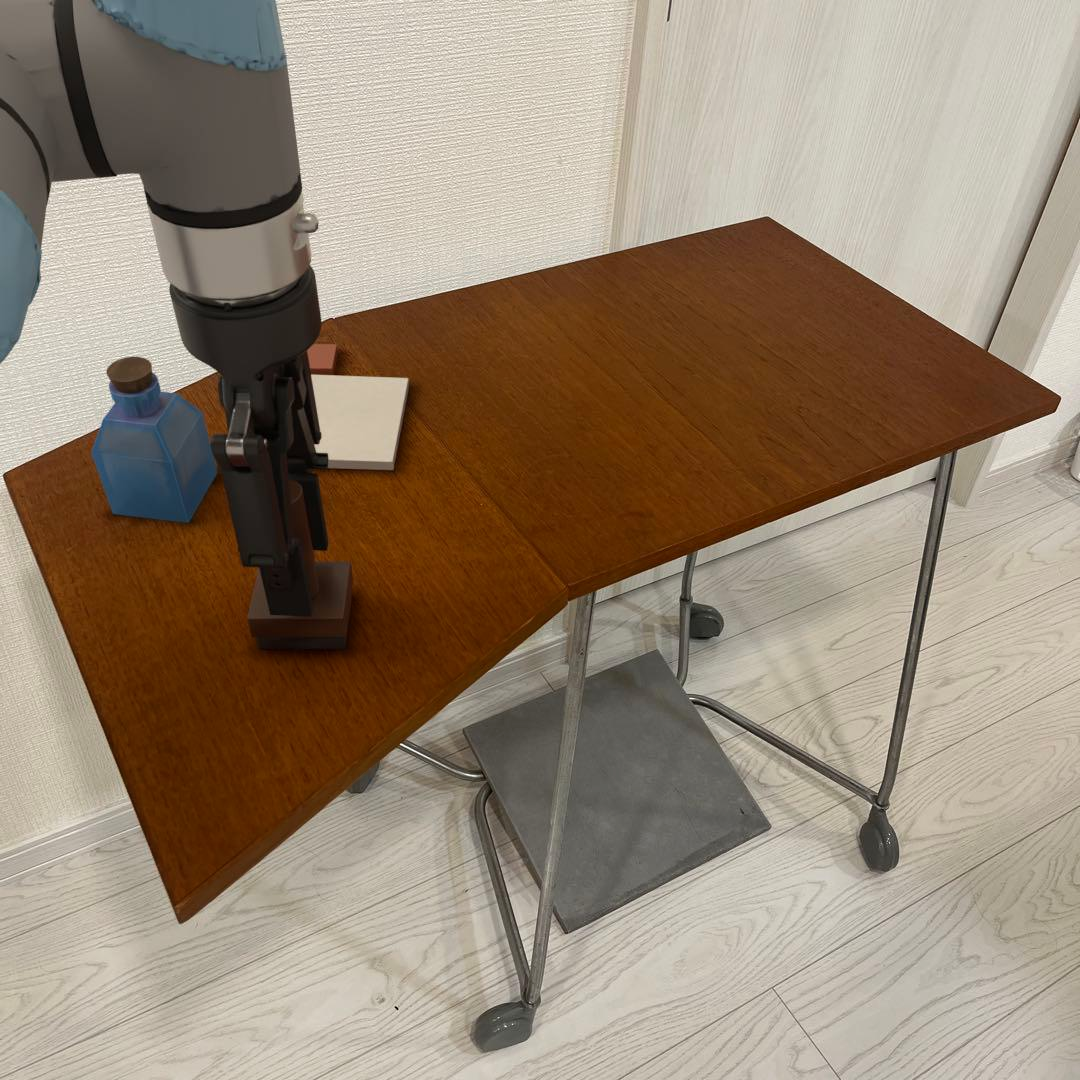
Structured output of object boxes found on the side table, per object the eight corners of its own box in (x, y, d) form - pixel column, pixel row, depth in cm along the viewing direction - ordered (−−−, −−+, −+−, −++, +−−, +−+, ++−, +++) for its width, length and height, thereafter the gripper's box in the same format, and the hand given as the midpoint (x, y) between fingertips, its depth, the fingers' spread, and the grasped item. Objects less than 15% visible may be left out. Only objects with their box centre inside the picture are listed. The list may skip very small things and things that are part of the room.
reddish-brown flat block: (290, 378, 94) (288, 367, 93) (296, 354, 97) (294, 343, 96) (333, 378, 94) (332, 368, 93) (338, 354, 97) (336, 343, 96)
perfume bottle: (145, 464, 84) (107, 341, 76) (217, 472, 84) (186, 349, 75) (113, 513, 80) (68, 389, 71) (188, 523, 79) (152, 398, 71)
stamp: (255, 652, 70) (221, 520, 62) (267, 594, 74) (237, 463, 65) (348, 651, 71) (327, 520, 62) (355, 594, 74) (337, 463, 66)
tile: (249, 465, 84) (247, 456, 84) (278, 381, 93) (277, 372, 92) (393, 470, 85) (392, 461, 84) (409, 386, 93) (408, 377, 93)
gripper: (277, 376, 46) (333, 687, 63) (340, 195, 60) (373, 490, 76) (113, 370, 46) (211, 683, 62) (213, 190, 60) (273, 487, 76)
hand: (300, 577), depth 69 cm, fingers open, 5 cm apart
